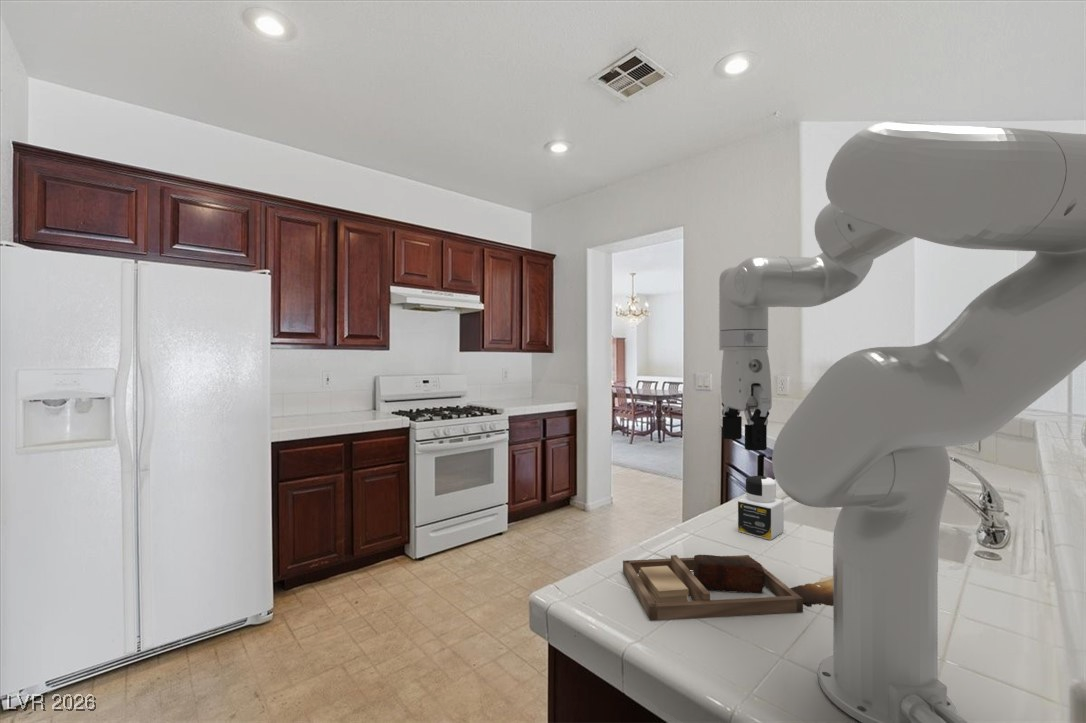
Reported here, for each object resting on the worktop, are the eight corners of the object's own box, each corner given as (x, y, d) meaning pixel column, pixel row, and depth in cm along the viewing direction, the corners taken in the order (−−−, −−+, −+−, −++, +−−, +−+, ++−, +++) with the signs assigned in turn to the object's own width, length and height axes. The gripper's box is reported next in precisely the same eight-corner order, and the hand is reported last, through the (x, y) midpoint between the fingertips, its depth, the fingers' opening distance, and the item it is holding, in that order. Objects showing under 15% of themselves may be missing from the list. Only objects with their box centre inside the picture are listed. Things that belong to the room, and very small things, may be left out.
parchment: (887, 568, 86) (887, 563, 86) (945, 593, 77) (945, 587, 77) (772, 587, 80) (772, 582, 80) (820, 617, 71) (819, 611, 71)
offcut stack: (690, 609, 73) (690, 590, 73) (659, 612, 73) (659, 592, 73) (665, 579, 83) (665, 562, 83) (637, 581, 82) (637, 564, 82)
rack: (803, 612, 71) (803, 592, 71) (650, 620, 69) (650, 600, 69) (748, 565, 87) (748, 549, 87) (622, 571, 85) (622, 555, 85)
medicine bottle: (737, 532, 105) (737, 477, 104) (751, 524, 109) (751, 472, 109) (771, 540, 99) (770, 483, 99) (784, 532, 104) (784, 477, 104)
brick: (698, 591, 78) (698, 563, 78) (693, 580, 82) (693, 553, 82) (765, 595, 77) (765, 566, 77) (757, 583, 81) (757, 556, 81)
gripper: (792, 340, 70) (791, 455, 71) (744, 342, 88) (744, 435, 88) (741, 340, 71) (740, 455, 71) (704, 343, 88) (704, 435, 88)
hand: (743, 444), depth 79 cm, fingers open, 9 cm apart
